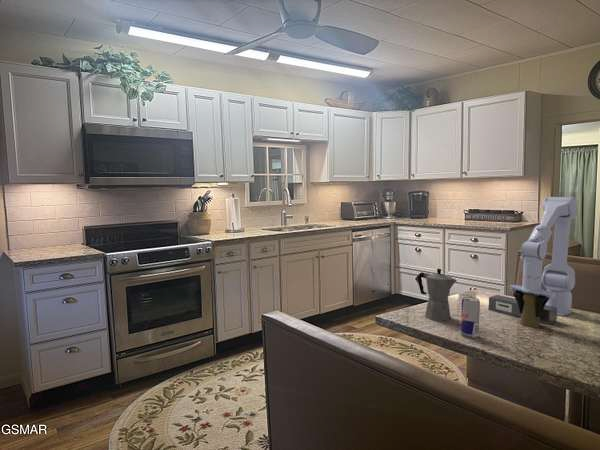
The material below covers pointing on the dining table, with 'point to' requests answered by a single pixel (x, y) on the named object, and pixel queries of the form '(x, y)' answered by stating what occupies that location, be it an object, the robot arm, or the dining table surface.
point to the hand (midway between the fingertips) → (530, 314)
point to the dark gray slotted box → (512, 308)
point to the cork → (529, 311)
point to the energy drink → (470, 317)
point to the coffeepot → (437, 294)
